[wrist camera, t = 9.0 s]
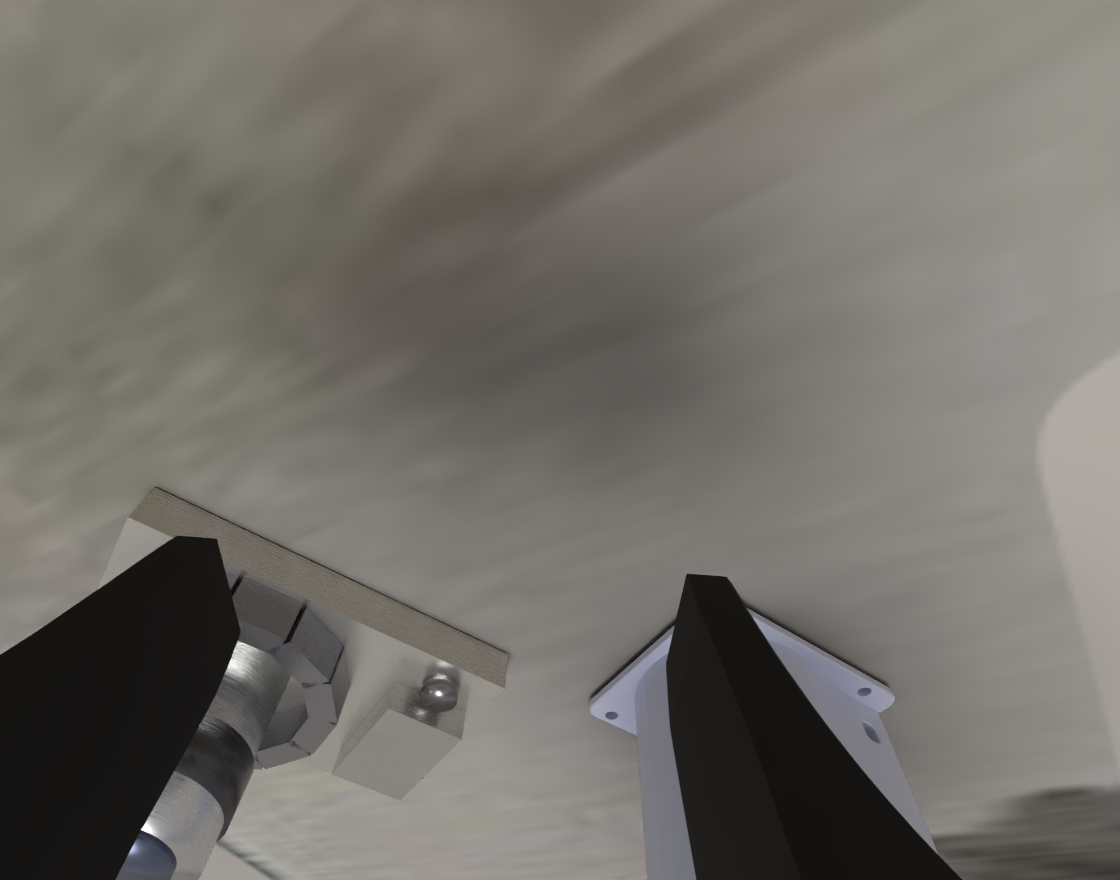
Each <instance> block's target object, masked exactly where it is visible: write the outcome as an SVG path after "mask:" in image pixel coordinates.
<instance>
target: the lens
mask: <svg viewBox="0 0 1120 880" xmlns="http://www.w3.org/2000/svg"><path fill="white" fill-rule="evenodd" d="M290 678H291V675H290V674H289V673H288V672H287V671H286V670H285V669H284V668H283V667H282V666H281V665H280V664H279V663H278V662H277V661H276V660H275V659H274V658H273V657H272V656H271V655H270V654H268V653H266V652H263V651H261V650H259V649H256V648H254V647H252V646H249V645H247V644H245V643H242V642H240V641H237V644H236V646H235V649H234V652H233V654H232V657H231V660H230V662H229V665H228V667H227V670H226V672H225V675H224V677H223V679H222V682H221V684H220V686H219V689H218V691H217V694H216V696H215V698H214V700H213V701H212V703H211V705H210V707H209V709H208V711H207V713H206V714H205V716H204V718H203V720H202V722H201V724H200V725H199V727H198V729H197V731H196V733H195V735H194V736H193V738H192V740H191V742H190V744H189V746H188V747H187V749H186V751H185V753H184V755H183V756H182V758H181V760H180V762H179V763H178V765H177V767H176V769H175V771H174V772H173V774H172V776H171V778H170V780H169V781H168V783H167V785H166V787H165V789H164V790H163V792H162V794H161V796H160V798H159V799H158V801H157V803H156V805H155V806H154V808H153V810H152V812H151V814H150V815H149V817H148V819H147V821H146V823H145V824H144V826H143V828H142V830H141V832H140V833H139V835H138V837H137V839H136V841H135V842H134V844H133V846H132V848H131V850H130V852H129V854H128V856H127V858H126V860H125V862H124V864H123V866H122V868H121V870H120V872H119V874H118V876H117V878H116V880H198V879H199V877H200V876H201V874H202V872H203V870H204V867H205V865H206V863H207V861H208V859H209V856H210V854H211V852H212V850H213V848H214V845H215V843H216V842H217V841H218V840H220V839H221V838H222V837H223V836H224V834H225V833H226V831H227V829H228V827H229V825H230V822H231V820H232V818H233V816H234V813H235V811H236V809H237V807H238V805H239V802H240V800H241V798H242V796H243V793H244V791H245V789H246V787H247V784H248V782H249V780H250V778H251V775H252V773H253V770H254V757H255V755H256V753H257V751H258V748H259V746H260V744H261V742H262V740H263V737H264V735H265V733H266V731H267V729H268V726H269V724H270V722H271V720H272V718H273V715H274V713H275V711H276V709H277V707H278V704H279V702H280V700H281V698H282V695H283V693H284V691H285V689H286V687H287V684H288V682H289V680H290Z"/></svg>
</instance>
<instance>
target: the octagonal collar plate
mask: <svg viewBox="0 0 1120 880" xmlns="http://www.w3.org/2000/svg"><path fill="white" fill-rule="evenodd" d="M176 536H190V537H203V538H216V539H217V541H218V545H219V549H220V552H221V556H222V560H223V564H224V568H225V572H226V576H227V580H228V584H229V587H230V591H231V595H232V599H233V603H234V607H235V611H236V615H237V619H238V622H239V626H240V630H241V633H240V636H239V639H238V641H240V642H242V643H245V644H247V645H249V646H252V647H254V648H256V649H259V650H261V651H263V652H266V653H268V654H270V655H271V656H272V657H273V658H274V659H275V660H276V661H277V662H278V663H279V664H280V665H281V666H282V667H283V668H284V669H285V670H286V671H287V672H288V673H289V674H290V675H291V678H290V680H289V682H288V684H287V687H286V689H285V691H284V693H283V695H282V698H281V700H280V702H279V704H278V707H277V709H276V711H275V713H274V715H273V718H272V720H271V722H270V724H269V726H268V729H267V731H266V733H265V735H264V737H263V740H262V742H261V744H260V746H259V748H258V751H257V753H256V755H255V757H254V769H262V767H264V768H265V769H267V768H271V767H274V766H278V765H281V764H284V763H288V762H291V761H295V760H298V761H301V762H303V763H306V764H309V765H311V766H314V767H316V768H319V769H322V770H324V771H327V772H330V773H332V774H333V775H335V776H338V777H340V778H343V779H346V780H348V781H351V782H353V783H356V784H359V785H361V786H364V787H367V788H369V789H372V790H374V791H377V792H380V793H382V794H385V795H387V796H390V797H393V798H395V799H398V800H401V799H402V798H403V797H404V796H405V795H406V794H407V793H408V792H409V791H410V790H411V789H412V788H413V787H414V786H415V785H416V784H417V783H418V782H419V781H420V780H421V779H422V778H423V777H424V776H425V775H426V774H427V773H428V772H429V771H430V770H431V769H432V768H433V767H434V766H435V765H436V764H437V763H438V762H439V761H440V760H441V759H442V758H443V757H444V756H445V755H446V754H447V753H448V752H449V751H450V750H451V749H452V748H453V747H454V746H455V745H456V744H457V743H458V742H459V741H460V740H461V739H462V734H463V730H464V729H465V728H466V727H467V726H468V725H469V724H470V723H471V722H472V721H473V720H474V719H475V718H476V717H477V716H478V715H479V714H480V713H481V712H482V711H483V710H484V709H485V708H486V707H487V706H488V705H489V704H490V703H491V702H492V701H493V700H494V699H495V698H496V697H497V696H498V695H499V694H500V693H501V692H502V691H503V690H504V689H505V681H506V673H507V664H508V656H509V654H506V653H504V652H502V651H500V650H498V649H496V648H494V647H492V646H490V645H487V644H485V643H483V642H481V641H479V640H477V639H475V638H473V637H471V636H468V635H466V634H464V633H462V632H460V631H458V630H456V629H454V628H452V627H449V626H447V625H445V624H443V623H441V622H439V621H437V620H435V619H432V618H430V617H428V616H426V615H424V614H422V613H420V612H418V611H416V610H413V609H411V608H409V607H407V606H405V605H403V604H401V603H399V602H397V601H394V600H392V599H390V598H388V597H386V596H384V595H382V594H380V593H378V592H375V591H373V590H371V589H369V588H367V587H365V586H363V585H361V584H359V583H356V582H354V581H352V580H350V579H348V578H346V577H344V576H342V575H339V574H337V573H335V572H333V571H331V570H329V569H327V568H325V567H323V566H320V565H318V564H316V563H314V562H312V561H310V560H308V559H306V558H304V557H301V556H299V555H297V554H295V553H293V552H291V551H289V550H287V549H285V548H282V547H280V546H278V545H276V544H274V543H272V542H270V541H268V540H265V539H263V538H261V537H259V536H257V535H255V534H253V533H251V532H249V531H246V530H244V529H242V528H240V527H238V526H236V525H234V524H232V523H230V522H227V521H225V520H223V519H221V518H219V517H217V516H215V515H213V514H211V513H208V512H206V511H204V510H202V509H200V508H198V507H196V506H194V505H191V504H189V503H187V502H185V501H183V500H181V499H179V498H177V497H175V496H172V495H170V494H168V493H166V492H164V491H162V490H160V489H158V488H156V487H155V488H154V489H153V490H152V491H151V493H150V494H149V495H148V496H147V497H146V498H145V499H144V500H143V501H142V502H141V503H140V505H139V506H138V507H137V508H136V509H135V510H134V511H133V512H132V513H131V514H130V516H129V517H128V518H127V521H126V523H125V525H124V528H123V530H122V532H121V535H120V537H119V540H118V542H117V544H116V547H115V549H114V551H113V554H112V556H111V558H110V561H109V563H108V566H107V568H106V570H105V573H104V575H103V577H102V580H101V582H100V584H99V587H98V589H99V588H101V587H102V586H104V585H105V584H107V583H108V582H109V581H111V580H112V579H114V578H115V577H117V576H118V575H119V574H121V573H122V572H124V571H125V570H127V569H128V568H129V567H131V566H132V565H134V564H135V563H137V562H138V561H140V560H141V559H142V558H144V557H145V556H147V555H148V554H150V553H151V552H153V551H154V550H156V549H157V548H159V547H160V546H162V545H163V544H165V543H166V542H168V541H169V540H171V539H172V538H174V537H176ZM98 589H97V590H98Z"/></svg>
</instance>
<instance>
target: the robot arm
mask: <svg viewBox="0 0 1120 880" xmlns="http://www.w3.org/2000/svg"><path fill="white" fill-rule="evenodd" d="M240 633H241V630H240V626H239V622H238V619H237V615H236V611H235V607H234V603H233V599H232V595H231V591H230V587H229V584H228V580H227V576H226V572H225V568H224V564H223V560H222V556H221V552H220V549H219V545H218V541H217V539H216V538H203V537H190V536H176V537H174V538H172V539H171V540H169V541H168V542H166V543H165V544H163V545H162V546H160V547H159V548H157V549H156V550H154V551H153V552H151V553H150V554H148V555H147V556H145V557H144V558H142V559H141V560H140V561H138V562H137V563H135V564H134V565H132V566H131V567H129V568H128V569H127V570H125V571H124V572H122V573H121V574H119V575H118V576H117V577H115V578H114V579H112V580H111V581H109V582H108V583H107V584H105V585H104V586H102V587H101V588H99V589H98V590H97V591H95V592H94V593H92V594H91V595H89V596H88V597H86V598H85V599H84V600H82V601H81V602H79V603H78V604H76V605H75V606H73V607H72V608H70V609H69V610H67V611H66V612H65V613H63V614H62V615H60V616H59V617H57V618H56V619H54V620H53V621H51V622H50V623H48V624H47V625H46V626H44V627H43V628H41V629H40V630H38V631H37V632H35V633H34V634H32V635H31V636H29V637H28V638H26V639H25V640H23V641H21V642H20V643H18V644H17V645H15V646H14V647H12V648H10V649H9V650H7V651H6V652H4V653H3V654H1V655H0V880H116V878H117V876H118V874H119V872H120V870H121V868H122V866H123V864H124V862H125V860H126V858H127V856H128V854H129V852H130V850H131V848H132V846H133V844H134V842H135V841H136V839H137V837H138V835H139V833H140V832H141V830H142V828H143V826H144V824H145V823H146V821H147V819H148V817H149V815H150V814H151V812H152V810H153V808H154V806H155V805H156V803H157V801H158V799H159V798H160V796H161V794H162V792H163V790H164V789H165V787H166V785H167V783H168V781H169V780H170V778H171V776H172V774H173V772H174V771H175V769H176V767H177V765H178V763H179V762H180V760H181V758H182V756H183V755H184V753H185V751H186V749H187V747H188V746H189V744H190V742H191V740H192V738H193V736H194V735H195V733H196V731H197V729H198V727H199V725H200V724H201V722H202V720H203V718H204V716H205V714H206V713H207V711H208V709H209V707H210V705H211V703H212V701H213V700H214V698H215V696H216V694H217V691H218V689H219V686H220V684H221V682H222V679H223V677H224V675H225V672H226V670H227V667H228V665H229V662H230V660H231V657H232V654H233V652H234V649H235V646H236V644H237V641H238V639H239V636H240ZM894 701H895V697H894V694H893V692H892V690H891V689H890V688H889V687H887V686H885V685H883V684H882V683H880V682H878V681H876V680H874V679H873V678H871V677H869V676H867V675H866V674H864V673H862V672H860V671H858V670H857V669H855V668H853V667H851V666H849V665H848V664H846V663H844V662H842V661H841V660H839V659H837V658H835V657H833V656H832V655H830V654H828V653H826V652H824V651H823V650H821V649H819V648H817V647H816V646H814V645H812V644H810V643H808V642H807V641H805V640H803V639H801V638H799V637H798V636H796V635H794V634H792V633H791V632H789V631H787V630H785V629H783V628H782V627H780V626H778V625H776V624H774V623H773V622H771V621H769V620H767V619H766V618H764V617H762V616H760V615H758V614H757V613H755V612H753V611H751V610H749V609H748V608H747V607H746V606H745V604H744V603H743V601H742V599H741V598H740V596H739V594H738V593H737V591H736V590H735V588H734V586H733V585H732V583H731V582H730V581H729V579H728V578H727V577H722V576H709V575H696V574H687V575H686V579H685V583H684V588H683V592H682V596H681V601H680V605H679V609H678V613H677V618H676V622H675V625H674V626H673V627H672V628H671V629H669V630H668V631H667V632H666V633H665V634H664V635H663V636H662V637H660V638H659V639H658V640H657V641H656V642H655V643H654V644H653V645H651V646H650V647H649V648H648V649H647V650H646V651H645V652H644V653H642V654H641V655H640V656H639V657H638V658H637V659H636V660H635V661H633V662H632V663H631V664H630V665H629V666H628V667H627V668H626V669H624V670H623V671H622V672H621V673H620V674H619V675H618V676H617V677H615V678H614V679H613V680H612V681H611V682H610V683H609V684H608V685H607V686H605V687H604V688H603V689H602V690H601V691H600V692H599V693H598V694H596V695H595V696H594V697H593V698H592V699H591V700H590V702H589V711H590V713H591V714H592V715H593V716H595V717H597V718H599V719H601V720H603V721H606V722H608V723H610V724H612V725H614V726H616V727H619V728H621V729H623V730H625V731H627V732H629V733H632V734H634V735H636V736H637V745H638V758H639V772H640V785H641V799H642V812H643V826H644V839H645V853H646V866H647V880H962V879H961V878H960V877H959V876H958V875H957V874H956V873H955V872H954V871H953V870H952V869H951V868H950V867H949V866H948V865H947V864H946V863H945V862H944V861H943V859H942V858H941V857H940V856H939V855H938V852H937V850H936V847H935V845H934V843H933V840H932V838H931V836H930V833H929V831H928V828H927V826H926V824H925V821H924V819H923V817H922V814H921V812H920V810H919V807H918V805H917V803H916V800H915V798H914V795H913V793H912V791H911V788H910V786H909V784H908V781H907V779H906V777H905V774H904V772H903V770H902V767H901V765H900V762H899V760H898V758H897V755H896V753H895V751H894V748H893V746H892V744H891V741H890V739H889V736H888V734H887V732H886V729H885V727H884V725H883V722H882V720H881V718H880V715H879V713H881V712H882V711H884V710H885V709H887V708H888V707H890V706H891V705H892V704H893V703H894Z"/></svg>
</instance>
